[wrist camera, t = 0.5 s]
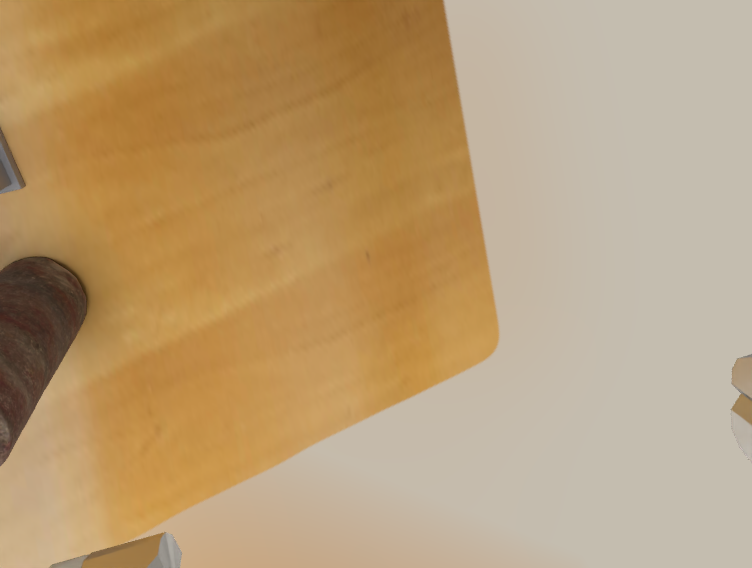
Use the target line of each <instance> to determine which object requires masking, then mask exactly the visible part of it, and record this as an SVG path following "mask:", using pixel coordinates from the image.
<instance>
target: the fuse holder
mask: <svg viewBox="0 0 752 568" xmlns="http://www.w3.org/2000/svg"><path fill="white" fill-rule="evenodd" d="M23 187H25V183H24V181H23V179H22V177H21V174H20V172H19V170H18V168H17V165H16V163H15V161H14V158H13V156H12V154H11V152H10V149H9V147H8V145H7V143H6V140H5V138H4V136H3V134H2V131H1V129H0V194H1V193H6V192H10V191H14V190H18V189H22V188H23Z"/></svg>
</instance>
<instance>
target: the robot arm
mask: <svg viewBox="0 0 752 568" xmlns="http://www.w3.org/2000/svg"><path fill="white" fill-rule="evenodd" d="M732 385H733V386H734V387H735V388H736V389H737V390H738V391H739V392H740V393H741V395H740V396H739V398H738V399H737V401H736V402H735V404H734V406H733V407H732V409H731V420H732V430H733V433H734V435H735V438H736V440H737V442H738V445H739V447H740V448H741V450H742V451H743V452H744V454H745V455H746V456H747V458H748V459H749V460H750V461H751V462H752V354H751V355H748V356H744V357H741V358H738V359H737V360H736V362H735V364H734V367H733V368H732ZM181 555H182V552H181V550H180V548H179V546H178V545H177V543H176V541H175V539H174V537H173V535H172V534H169V533H166V532H164V533H161V534H157V535H154V536H150V537H146V538H143V539H139V540H136V541H132V542H128V543H125V544H121V545H118V546H114V547H111V548H107V549H103V550H100V551H96V552H93V553H91V554H90V555H84V556H81V557H77V558H74V559H70V560H67V561H63V562H60V563H56V564H53V565H51V566H50V567H49V568H180V563H181Z"/></svg>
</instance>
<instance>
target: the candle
mask: <svg viewBox="0 0 752 568" xmlns="http://www.w3.org/2000/svg"><path fill="white" fill-rule="evenodd" d="M85 315H86V296H85V294H84V292H83V290H82V288H81V285H80V283H79V282H78V280H77V278H76V277H75V276H74V275H73V274H71V273H70V272H69V271H68V270H67V269H65V268H63V267H62V266H60V265H58V264H57V263H55V262H54V261H53V260H51V259H48V258H43V257H31V258H25V259H21V260H19V261H16V262H13V263H11V264H10V265H8V266H7V267H5V268H4V269H3V270H2V271H1V272H0V466H1V465H2V464H3V463H4V462H5V461H6V459H7V458H8V456H9V454H10V453H11V451H12V449H13V447H14V445H15V443H16V441H17V439H18V438H19V436H20V434H21V432H22V430H23V428H24V427H25V425H26V423H27V422H28V420H29V418H30V416H31V414H32V413H33V411H34V409H35V407H36V405H37V403H38V401H39V399H40V398H41V396H42V394H43V392H44V390H45V389H46V387H47V385H48V384H49V382H50V380H51V378H52V377H53V375H54V374H55V372H56V370H57V369H58V367H59V365H60V363H61V361H62V360H63V358H64V356H65V354H66V353H67V351H68V349H69V347H70V346H71V344H72V342H73V340H74V339H75V337H76V335H77V333H78V331H79V329H80V327H81V325H82V324H83V321H84V319H85Z"/></svg>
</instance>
